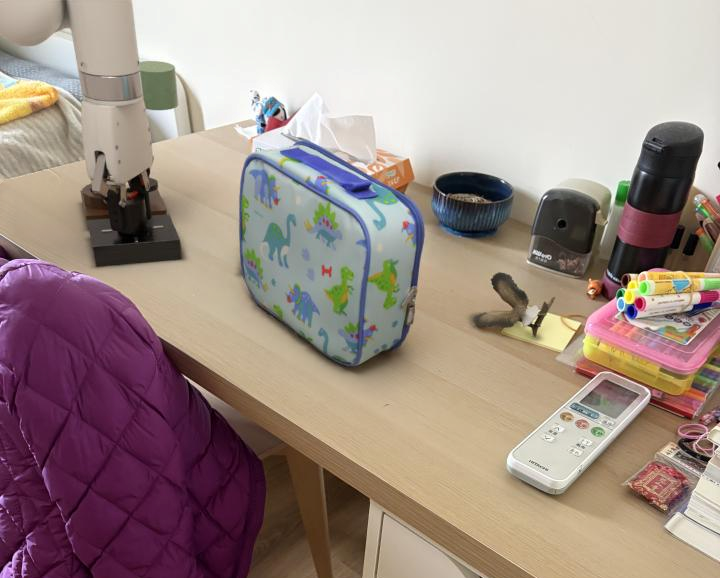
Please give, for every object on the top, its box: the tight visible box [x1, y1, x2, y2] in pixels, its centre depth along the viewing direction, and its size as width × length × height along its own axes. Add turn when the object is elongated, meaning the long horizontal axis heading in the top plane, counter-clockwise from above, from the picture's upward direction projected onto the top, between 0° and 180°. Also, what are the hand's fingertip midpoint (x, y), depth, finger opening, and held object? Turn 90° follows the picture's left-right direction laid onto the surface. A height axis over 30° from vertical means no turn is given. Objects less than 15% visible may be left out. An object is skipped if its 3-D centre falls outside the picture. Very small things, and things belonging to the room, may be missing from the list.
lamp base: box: [79, 183, 168, 231], centre depth 113 cm, size 12×10×4 cm
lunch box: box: [238, 140, 426, 367], centre depth 87 cm, size 26×11×21 cm, turn 40°
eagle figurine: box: [473, 271, 556, 338], centre depth 95 cm, size 8×7×9 cm
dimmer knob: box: [119, 191, 148, 236], centre depth 102 cm, size 4×4×5 cm
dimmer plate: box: [86, 213, 183, 267], centre depth 105 cm, size 12×9×3 cm
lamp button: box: [90, 176, 117, 194], centre depth 111 cm, size 4×4×2 cm
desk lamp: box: [128, 60, 179, 192], centre depth 108 cm, size 9×6×17 cm
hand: (131, 223), depth 103 cm, fingers closed on dimmer knob, 4 cm apart
